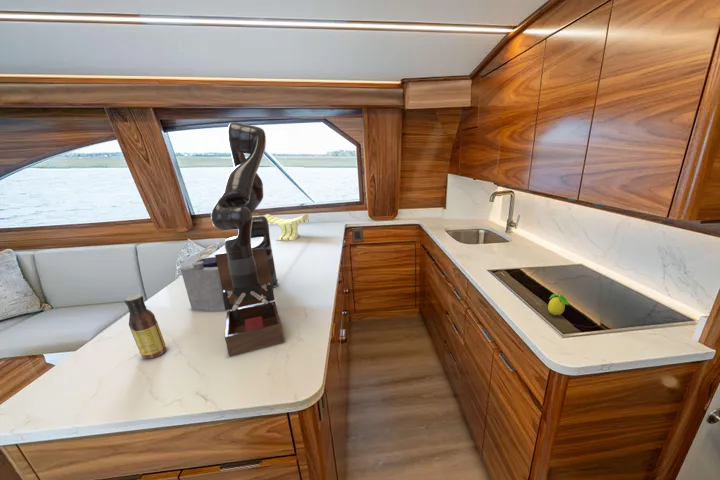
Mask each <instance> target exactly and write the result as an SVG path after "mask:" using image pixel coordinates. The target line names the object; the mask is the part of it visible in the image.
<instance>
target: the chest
mask: <svg viewBox="0 0 720 480" xmlns="http://www.w3.org/2000/svg"><path fill="white" fill-rule="evenodd" d="M269 309H270V311H269V312H268V314H266V312H265V307H264V303H258V304H253V305H248V306H243V307H238V312H239V317H240V320H237V319H235V318H234V315H233V311H232V310H226V317H225V320H226V321H225V327H224V340H225V344H226V349H227V352H228V356H229V357H233V356H237V355H241V354H245V353H248V352H253V351H257V350H261V349H265V348H268V347H271V346H276V345H279V344H285V340H284V335H283V334H284V333H283V329H282V323H281V320H280V315H279V311H278V307H277V303H276V300H273V301H270V302H269ZM260 316H262V319H263V324H264V327H261V328H257V329H253V330H248V331H245V320H246V319H250V318H255V317H260Z"/></svg>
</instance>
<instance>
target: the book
mask: <svg viewBox="0 0 720 480" xmlns="http://www.w3.org/2000/svg"><path fill="white" fill-rule="evenodd" d="M261 327H264V324H263V319H262V316H260V317H255V318H250V319H246V320H245V331H248V330H253V329H257V328H261Z"/></svg>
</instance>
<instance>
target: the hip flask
mask: <svg viewBox="0 0 720 480" xmlns="http://www.w3.org/2000/svg"><path fill="white" fill-rule="evenodd" d="M203 264H204V263H203V262H197V261H195V262H193V263H192V266H182V267H181V268H180V272H181V276H182V280H183V283H184V286H185V290H186V293H187V294H186V295H187V297H188V301H189V306H190V308H191V310H192V311H198V312H227V310H225V306H224V300H223V290H222V286H221V281H220V276H219V272H218V267H204V266H203Z"/></svg>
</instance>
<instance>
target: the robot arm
mask: <svg viewBox="0 0 720 480" xmlns="http://www.w3.org/2000/svg"><path fill="white" fill-rule="evenodd" d="M227 140H228V145H229V150H230V154H231V158H232V163H233V169H232V170H231V171H230V173H228V176H227V178H226V183H225V187H224V191H223V193H222V195H221V196H220V197H219V199H218V200H217V202H216V203H215V205H214V206H213V208H212V211H211V214H210V219H211V223H212V225H213V227H214V228H215V229H217V230H219V231H237V232H238V233H237V235H236V236H231V237H229V238H227V239H225V241H224V248H225V253H227V258H228V267H229V272H230V276H231V280H232V285H233V290H230V291H227V290H224V291H223V300H224V306H225V310H226V311H228V310H232V311H233V315H234V318H235V319H237V320H240V317H239V312H238V308H239V307H238V305H239V304H240V303H241V301H244V302H245V301H248V300H255V299H256V298H257V299H258V300H260V301H262V302H263V303H264V307H265V312H266V314H268V312H269V311H270V309H269V302H273V301H275V300H274V298H275V297H274V298H273V294H272V290H271V286H270V283H269V282H267V283H266V284H264V285H260V283H259V279H258V274H257V267H256V263H255V260H254V257H253V252H252V249H259V248H266V253H267V259H268V264H269V270H270V275H271V281H272V287H273V289H276V287H278V286H279V282H278V278H277V272H276V271H277V270H276V265H275V260H274V254H273V247H272V241H271V235H270V234H271V233H270V224H268V220H267V218H266V217H265V216H264V215H258V216H257V215H256V216H253V213H254V212H255V211H256V210H257V208H258V207H259V206H260V205H261V203H262V201H263V199H264V183H263V181H262V178H261V177H260V176H259V174H258V173H257V172H258V170H259V167H260V164H261V162H262V159H263V157H264V155H265V151H266V145H267V136H266V132H265V130H264V129H263V128H262V127H259V126H257V125H256V126H255V125H251V124H246V123H242V122H234V121H233V122H230V123H229V125H228V127H227ZM245 154H246V155H249V156H248V157H247V158H246V155H245ZM257 238H261V239H260V240H258V242H255V243H254V244H252V239H257ZM262 288H263V289H264V290H265V291H268V295H269V297H267V298H266V297H265V296H263V295H262V294H261V293H260V291H261V290H262ZM231 294H233V295H235V296H236V297H237V298H236V299H235V301H234V303H233V305H230V304H229V298H230V297H231ZM263 303H262V304H263ZM237 307H238V308H237Z"/></svg>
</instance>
